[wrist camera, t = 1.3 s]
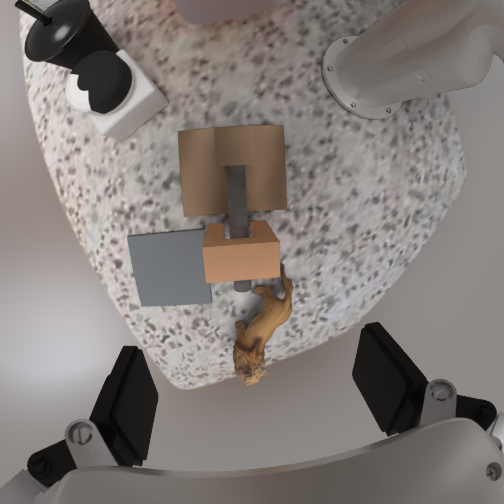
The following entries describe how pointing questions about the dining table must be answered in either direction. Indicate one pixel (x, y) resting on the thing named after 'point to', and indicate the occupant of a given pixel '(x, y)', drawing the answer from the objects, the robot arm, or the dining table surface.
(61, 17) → the drinking cup
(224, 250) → the c link
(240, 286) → the stand
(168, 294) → the slate mat
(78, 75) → the medicine bottle
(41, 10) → the syrup box
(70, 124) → the dining table surface
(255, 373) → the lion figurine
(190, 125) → the dining table surface
